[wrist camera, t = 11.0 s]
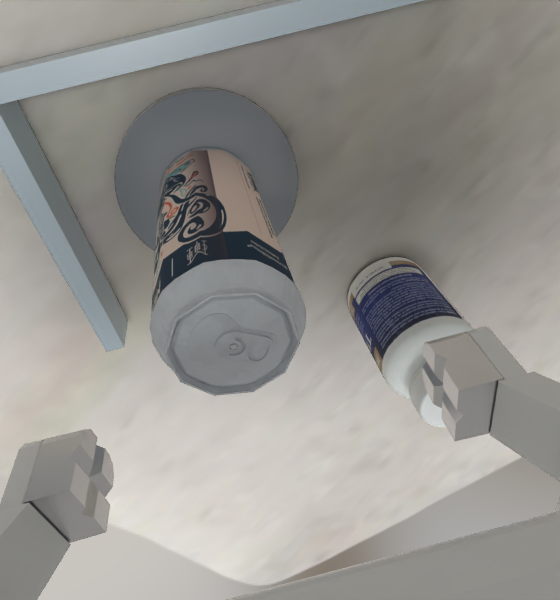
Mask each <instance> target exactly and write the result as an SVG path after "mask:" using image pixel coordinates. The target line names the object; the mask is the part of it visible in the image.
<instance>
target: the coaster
mask: <svg viewBox="0 0 560 600" xmlns="http://www.w3.org/2000/svg"><path fill="white" fill-rule="evenodd" d="M199 148H217V149H221V150H224V151H227V152H229V153H232V154H233V155H235V156H236V157H238V158H239V159H241V160H242V161H243V162H244V163H245V164H246V166H247V167H248V168H249V169H250V171H251V173H252V175H253V177H254V180H255V183H256V186H257V190H258V192H259V195H260V197H261V200H262V202H263V205H264V207H265V210H266V213H267V215H268V218H269V220H270V223H271V225H272V228H273V230H274V233H275V235H276V237H277V236H278V235H279V233H280V232H281V231H282V229H283V228H284V226H285V225H286V223H287V221H288V220H289V218H290V215H291V213H292V211H293V208H294V205H295V201H296V196H297V190H298V173H297V165H296V161H295V157H294V154H293V151H292V149H291V146H290V144H289V142H288V140H287V138H286V137H285V135H284V133H283V132H282V130H281V129H280V128H279V126H278V125H277V124H276V122H275V121H274V120H273V119H272V117H271V116H270V115H269V114H268V113H267V112H266V111H265V110H263V109H262V108H261V107H259V106H258V105H257V104H256V103H254V102H252V101H251V100H249V99H247V98H245V97H243V96H241V95H238V94H236V93H234V92H230V91H226V90H223V89H217V88H208V87H205V88H190V89H184V90H180V91H177V92H174V93H171V94H168V95H166V96H164V97H162V98H160V99H158V100H157V101H155V102H154V103H152V104H151V105H149V106H148V107H147V108H146V109H145V110H144V111H142V112H141V113H140V114H139V115H138V116H137V118H136V119H135V120H134V122H133V123H132V124H131V125H130V127H129V129H128V131H127V132H126V134H125V136H124V139H123V141H122V144H121V146H120V149H119V153H118V157H117V161H116V165H115V190H116V195H117V200H118V203H119V206H120V209H121V211H122V213H123V215H124V217H125V219H126V221H127V223H128V224H129V226H130V227H131V229H132V230H133V232H134V233H135V234H136V235H137V236H138V237H139V238H140V239H141V240H142V241H143V242H144V243H145V244H146V245H147V246H149V247H150V248H151V249H153V250H154V251H156V235H157V219H158V203H159V190H160V183H161V180H162V177H163V174H164V172H165V170H166V169H167V168H168V166H169V165H170V164H171V163H172V162H173V161H174V160H175V159H176V158H178V157H179V156H181V155H182V154H184V153H186V152H188V151H191V150H193V149H199Z"/></svg>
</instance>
